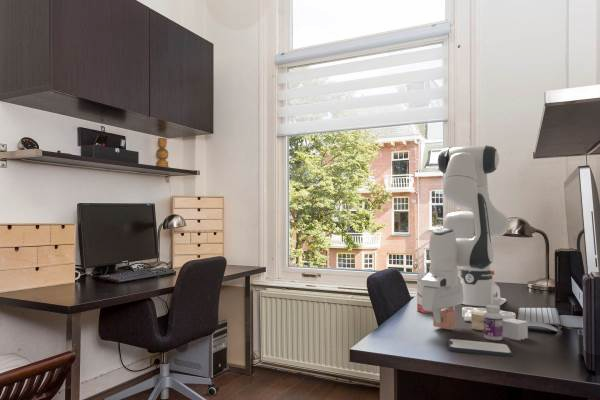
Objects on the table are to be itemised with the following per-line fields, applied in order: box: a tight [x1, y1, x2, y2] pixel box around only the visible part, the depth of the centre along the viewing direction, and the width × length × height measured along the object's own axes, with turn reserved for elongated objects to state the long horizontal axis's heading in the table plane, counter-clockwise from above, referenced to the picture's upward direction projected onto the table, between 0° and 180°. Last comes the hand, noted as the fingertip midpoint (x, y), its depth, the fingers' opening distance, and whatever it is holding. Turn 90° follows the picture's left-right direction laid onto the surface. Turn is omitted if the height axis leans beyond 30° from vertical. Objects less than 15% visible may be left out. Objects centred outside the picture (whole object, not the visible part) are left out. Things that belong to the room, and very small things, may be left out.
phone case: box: [447, 338, 513, 357], centre depth 121 cm, size 9×2×16 cm
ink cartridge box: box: [416, 272, 433, 314], centre depth 169 cm, size 9×5×15 cm, turn 108°
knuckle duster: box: [461, 306, 517, 323], centre depth 155 cm, size 3×18×15 cm
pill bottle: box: [483, 305, 504, 341], centre depth 132 cm, size 5×5×10 cm
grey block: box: [503, 319, 529, 341], centre depth 133 cm, size 5×5×5 cm
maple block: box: [471, 311, 485, 331], centre depth 144 cm, size 5×5×5 cm
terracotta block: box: [432, 308, 456, 330], centre depth 142 cm, size 5×5×5 cm
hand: (444, 321), depth 142 cm, fingers closed on terracotta block, 5 cm apart
